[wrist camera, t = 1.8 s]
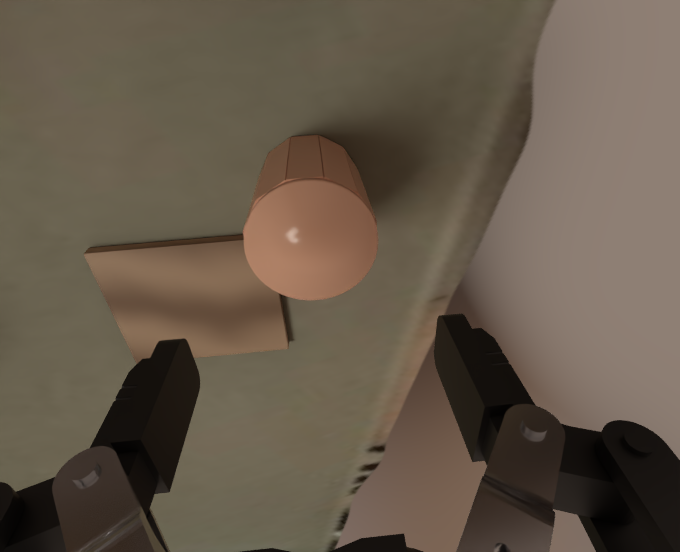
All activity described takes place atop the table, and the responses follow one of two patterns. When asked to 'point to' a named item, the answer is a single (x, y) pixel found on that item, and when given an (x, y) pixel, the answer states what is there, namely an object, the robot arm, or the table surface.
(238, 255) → the walnut mat
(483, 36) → the table surface
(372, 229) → the faceted terracotta cylinder
